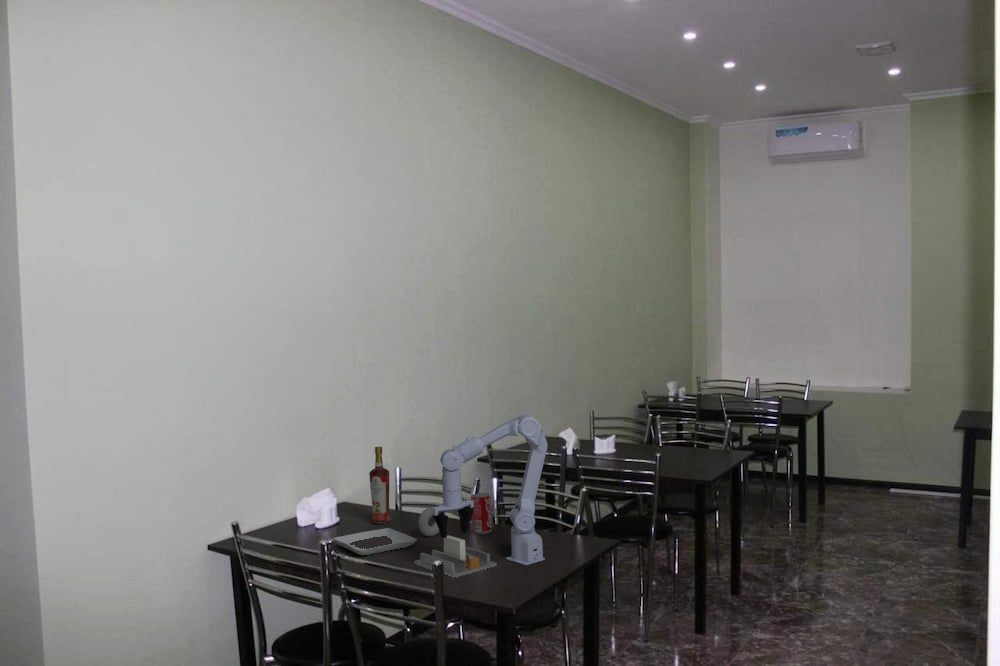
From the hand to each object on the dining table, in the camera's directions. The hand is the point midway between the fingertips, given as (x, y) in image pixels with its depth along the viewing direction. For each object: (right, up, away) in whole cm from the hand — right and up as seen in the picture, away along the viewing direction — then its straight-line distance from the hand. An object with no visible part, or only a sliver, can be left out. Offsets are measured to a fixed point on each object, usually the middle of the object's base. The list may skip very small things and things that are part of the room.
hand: (453, 534), depth 257 cm
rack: (0, -9, 0) cm, 9 cm away
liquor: (-30, -9, +56) cm, 64 cm away
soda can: (+8, -8, +38) cm, 40 cm away
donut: (-9, -9, +35) cm, 37 cm away
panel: (0, -8, 0) cm, 8 cm away
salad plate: (-27, -10, +24) cm, 38 cm away
